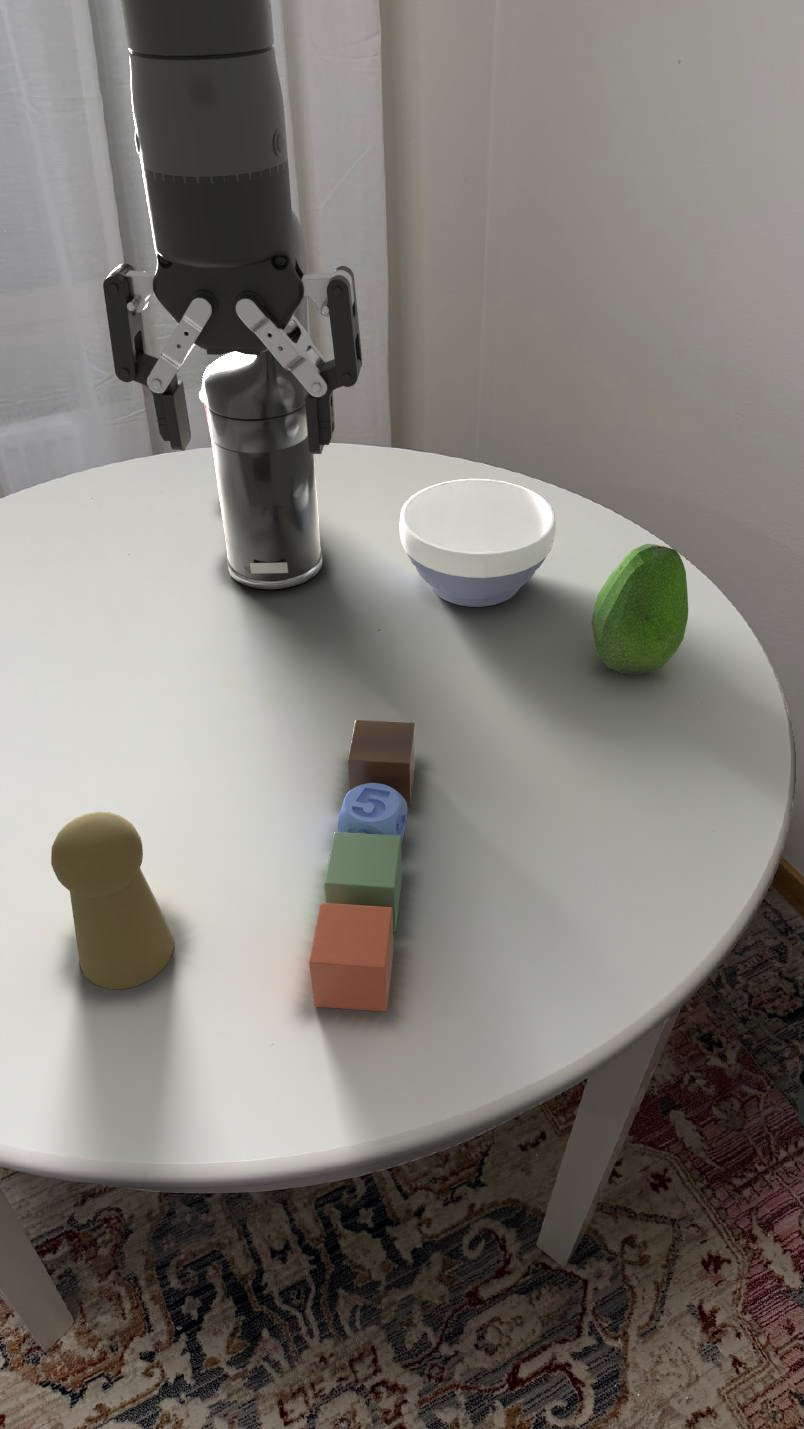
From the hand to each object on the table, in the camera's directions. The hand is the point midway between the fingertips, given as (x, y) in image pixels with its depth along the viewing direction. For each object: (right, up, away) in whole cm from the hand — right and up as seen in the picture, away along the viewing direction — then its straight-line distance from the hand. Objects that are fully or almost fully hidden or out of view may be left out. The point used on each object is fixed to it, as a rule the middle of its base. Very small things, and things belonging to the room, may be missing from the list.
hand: (249, 447), depth 62 cm
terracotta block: (+6, -33, +1) cm, 34 cm away
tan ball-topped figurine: (-8, -32, +3) cm, 33 cm away
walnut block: (+8, -22, +14) cm, 27 cm away
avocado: (+29, -12, +25) cm, 41 cm away
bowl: (+17, -4, +36) cm, 40 cm away
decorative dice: (+7, -26, +10) cm, 29 cm away
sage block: (+7, -29, +6) cm, 31 cm away
